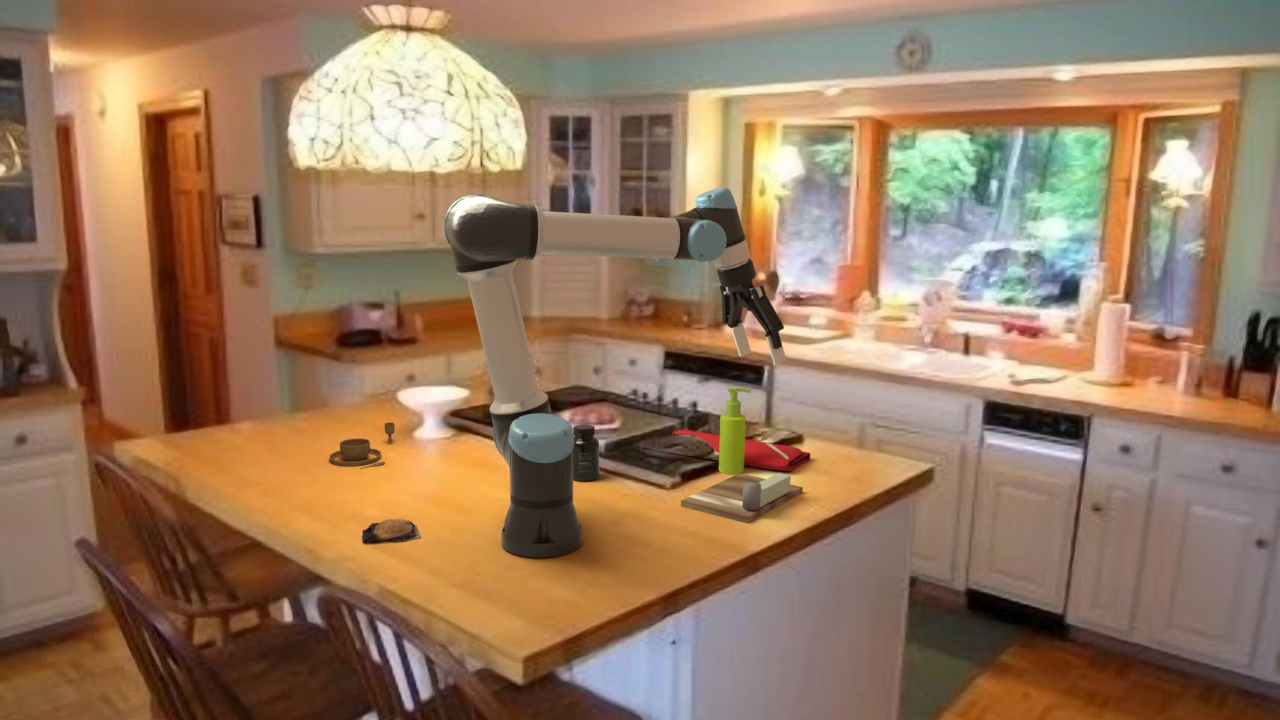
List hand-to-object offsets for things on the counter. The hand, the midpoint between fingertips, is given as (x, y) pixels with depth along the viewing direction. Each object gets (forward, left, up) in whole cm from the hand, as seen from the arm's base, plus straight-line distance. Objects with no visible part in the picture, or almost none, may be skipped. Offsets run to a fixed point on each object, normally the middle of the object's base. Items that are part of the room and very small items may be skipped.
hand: (762, 358), depth 199 cm
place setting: (-33, +89, -31) cm, 100 cm away
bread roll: (-64, +43, -31) cm, 83 cm away
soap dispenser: (+12, +13, -31) cm, 36 cm away
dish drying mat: (+23, +23, -31) cm, 45 cm away
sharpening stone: (-5, -5, -29) cm, 30 cm away
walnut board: (-4, +1, -30) cm, 31 cm away
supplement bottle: (-14, +37, -31) cm, 50 cm away
